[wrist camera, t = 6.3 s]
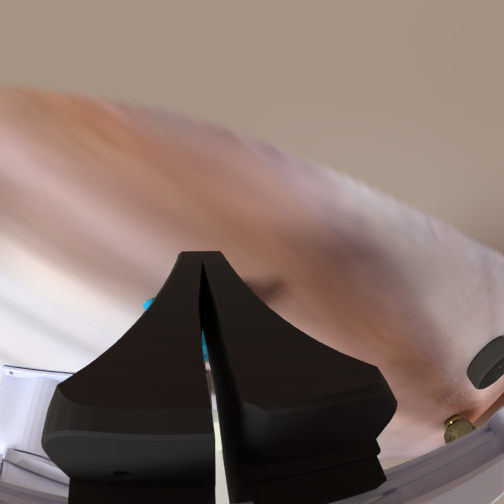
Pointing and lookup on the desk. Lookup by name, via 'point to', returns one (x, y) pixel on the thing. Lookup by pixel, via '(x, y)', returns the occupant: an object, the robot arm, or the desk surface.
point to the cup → (457, 428)
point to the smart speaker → (487, 365)
